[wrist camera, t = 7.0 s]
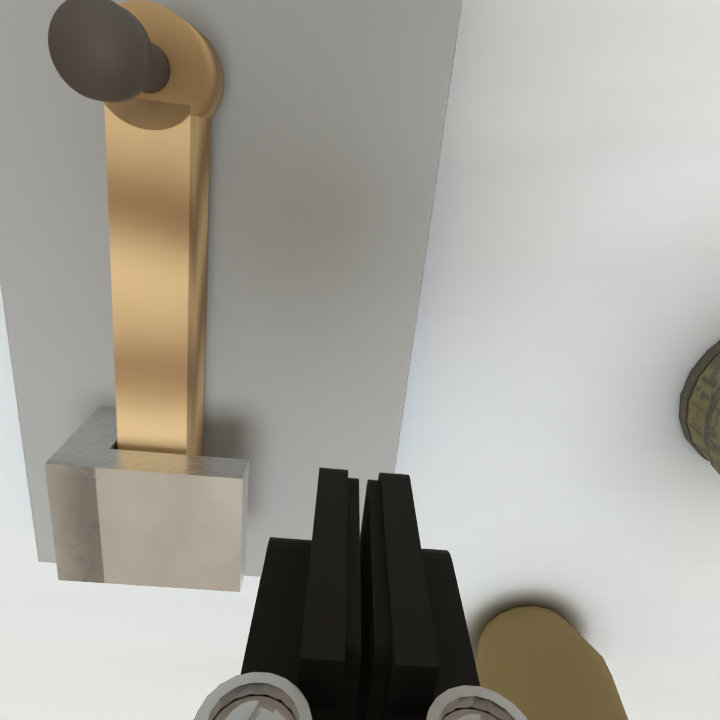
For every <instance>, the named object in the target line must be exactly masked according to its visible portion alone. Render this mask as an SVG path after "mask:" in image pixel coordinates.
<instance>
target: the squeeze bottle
mask: <svg viewBox="0 0 720 720" xmlns="http://www.w3.org/2000/svg"><path fill="white" fill-rule="evenodd" d="M476 669H477V673H478V678H479V682H480V687H483V688H486V689H488V690H491V691H494V692H497V693H498V694H500V695H501V696H503V697H504V698H506V699H507V700H509V701H511V702H512V703H513V704H514V705H515V706H516V707H517V708H518V709H519V710H520V711H521V712H522V713H523V714H524V715H525V716H526V718H527V720H628V718H627V715H626V713H625V710H624V707H623V705H622V702H621V699H620V696H619V694H618V691H617V688H616V686H615V683H614V680H613V677H612V675H611V673H610V671H609V669H608V667H607V665H606V663H605V661H604V659H603V657H602V656H601V655H600V654H599V653H598V652H597V651H596V650H595V649H594V648H593V647H592V646H591V645H590V644H589V643H588V642H587V641H586V640H585V639H584V638H583V637H582V636H581V635H580V634H579V633H578V632H577V631H576V630H575V629H574V628H573V627H572V626H571V625H570V624H569V623H568V622H567V621H566V620H565V619H564V618H563V617H561V616H560V615H559V614H557V613H556V612H554V611H553V610H551V609H547V608H542V607H538V606H525V607H515V608H513V609H510V610H508V611H505V612H503V613H500V614H498V615H497V616H496V617H495V618H494V619H492V620H491V621H490V622H489V623H488V624H487V625H486V626H485V628H484V630H483V632H482V634H481V636H480V638H479V644H478V652H477V660H476Z"/></svg>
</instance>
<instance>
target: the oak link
mask: <svg viewBox="0 0 720 720" xmlns="http://www.w3.org/2000/svg"><path fill="white" fill-rule="evenodd" d="M48 46H49V52H50V56H51V59H52V62H53V64H54V66H55V68H56V70H57V72H58V73H59V75H60V76H61V78H62V79H63V80H64V81H65V82H66V83H67V84H68V85H69V86H70V87H71V88H72V89H73V90H74V91H76V92H77V93H79V94H81V95H83V96H85V97H87V98H90V99H93V100H98V101H103V103H104V109H105V135H106V160H107V186H108V211H109V237H110V263H111V288H112V314H113V339H114V365H115V390H116V416H117V442H118V449H119V450H132V451H145V452H158V453H171V454H183V455H196V456H202V443H203V401H204V360H205V318H206V277H207V235H208V193H209V152H210V118H211V117H212V116H213V115H214V113H215V112H216V110H217V108H218V107H219V105H220V102H221V99H222V95H223V88H224V76H223V69H222V66H221V62H220V59H219V57H218V55H217V53H216V51H215V49H214V47H213V46H212V44H211V43H210V42H209V40H208V39H207V38H206V37H205V36H204V35H203V34H202V33H201V32H200V31H198V30H197V29H196V28H194V27H193V26H192V25H190V24H189V23H188V22H186V21H185V20H183V19H182V18H181V17H179V16H178V15H177V14H175V13H174V12H172V11H171V10H170V9H168V8H166V7H164V6H162V5H160V4H157V3H154V2H150V1H143V0H134V1H127V2H123V3H121V4H116V3H115V2H113V1H111V0H66V1H65V2H64V3H62V4H61V5H60V6H59V7H58V9H57V10H56V11H55V13H54V15H53V17H52V19H51V22H50V26H49V31H48Z"/></svg>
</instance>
